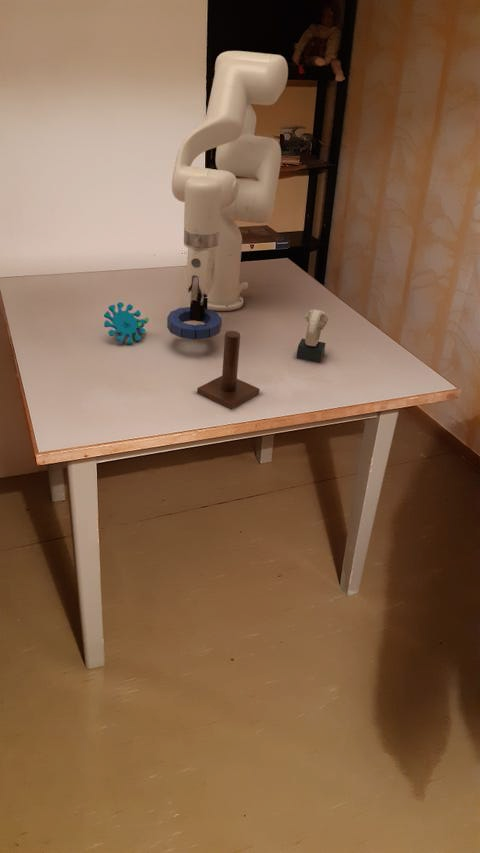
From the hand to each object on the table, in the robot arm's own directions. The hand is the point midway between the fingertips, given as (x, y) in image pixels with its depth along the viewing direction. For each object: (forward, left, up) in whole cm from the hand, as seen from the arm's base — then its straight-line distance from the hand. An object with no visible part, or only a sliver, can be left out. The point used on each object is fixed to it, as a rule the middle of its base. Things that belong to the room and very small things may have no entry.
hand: (198, 316), depth 154 cm
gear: (+12, -11, -6) cm, 17 cm away
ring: (+4, +2, -1) cm, 5 cm away
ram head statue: (-12, +24, -6) cm, 27 cm away
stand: (+15, +22, -6) cm, 27 cm away
